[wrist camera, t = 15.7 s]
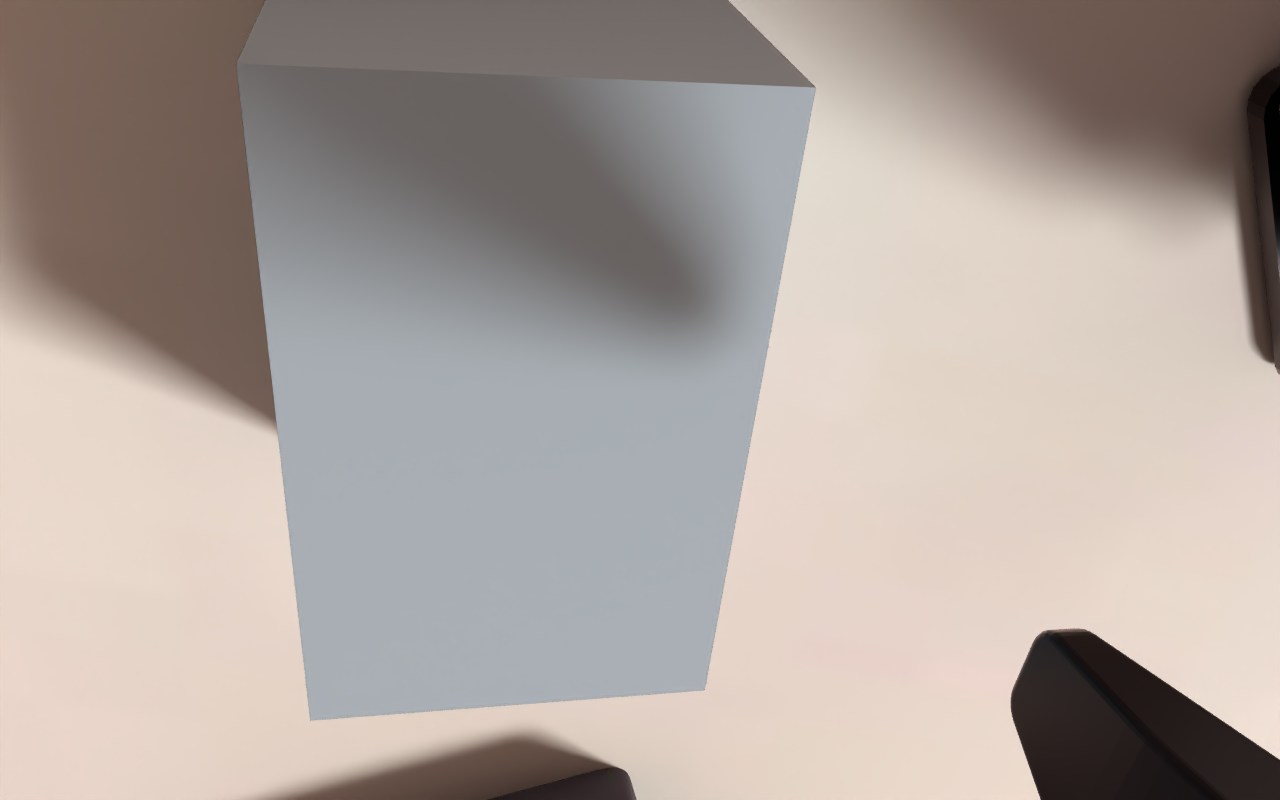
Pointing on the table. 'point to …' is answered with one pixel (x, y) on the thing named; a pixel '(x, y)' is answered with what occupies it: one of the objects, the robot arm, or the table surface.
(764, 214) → the block
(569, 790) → the black red beige box
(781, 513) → the table surface
